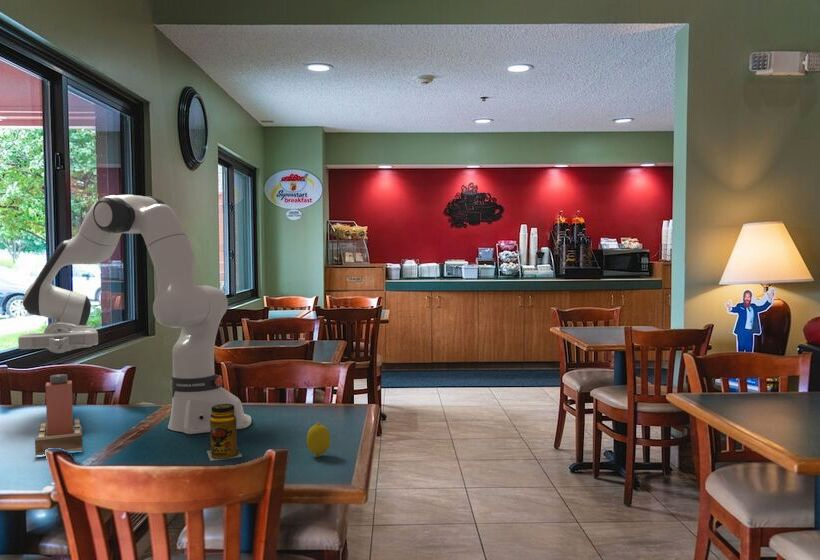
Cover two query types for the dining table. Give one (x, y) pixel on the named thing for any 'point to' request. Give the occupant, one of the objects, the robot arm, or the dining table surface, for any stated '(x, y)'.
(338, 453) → the dining table surface
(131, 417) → the dining table surface
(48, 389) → the pink upright post
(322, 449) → the lemon
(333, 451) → the dining table surface
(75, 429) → the press base
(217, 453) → the condiment
